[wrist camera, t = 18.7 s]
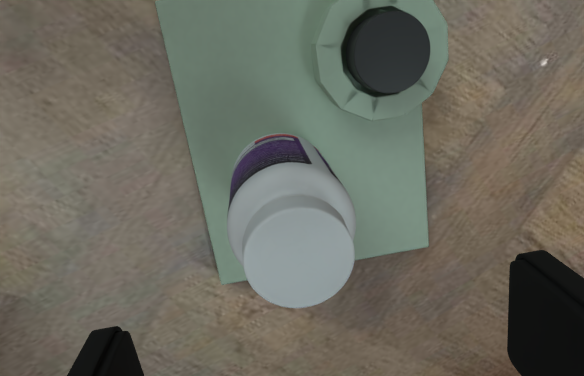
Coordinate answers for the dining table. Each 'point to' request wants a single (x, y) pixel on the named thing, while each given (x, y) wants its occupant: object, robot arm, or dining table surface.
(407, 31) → the tare button
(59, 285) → the dining table surface
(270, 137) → the pill bottle
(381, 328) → the dining table surface
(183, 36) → the green dial board
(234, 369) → the dining table surface
